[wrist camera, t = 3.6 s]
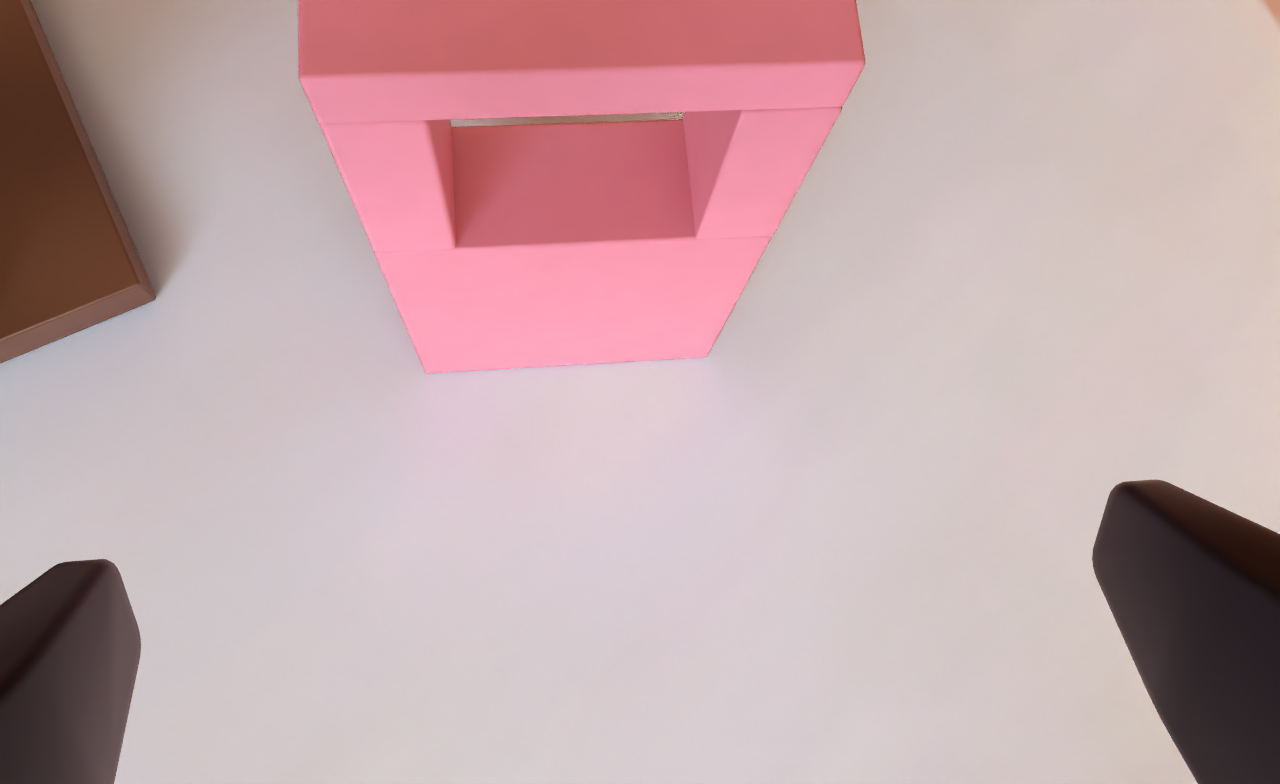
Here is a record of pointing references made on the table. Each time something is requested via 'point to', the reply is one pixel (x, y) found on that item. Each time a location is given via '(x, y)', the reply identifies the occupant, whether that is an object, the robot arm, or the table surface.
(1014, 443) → the table surface
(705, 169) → the pink tunnel block
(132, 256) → the stand
